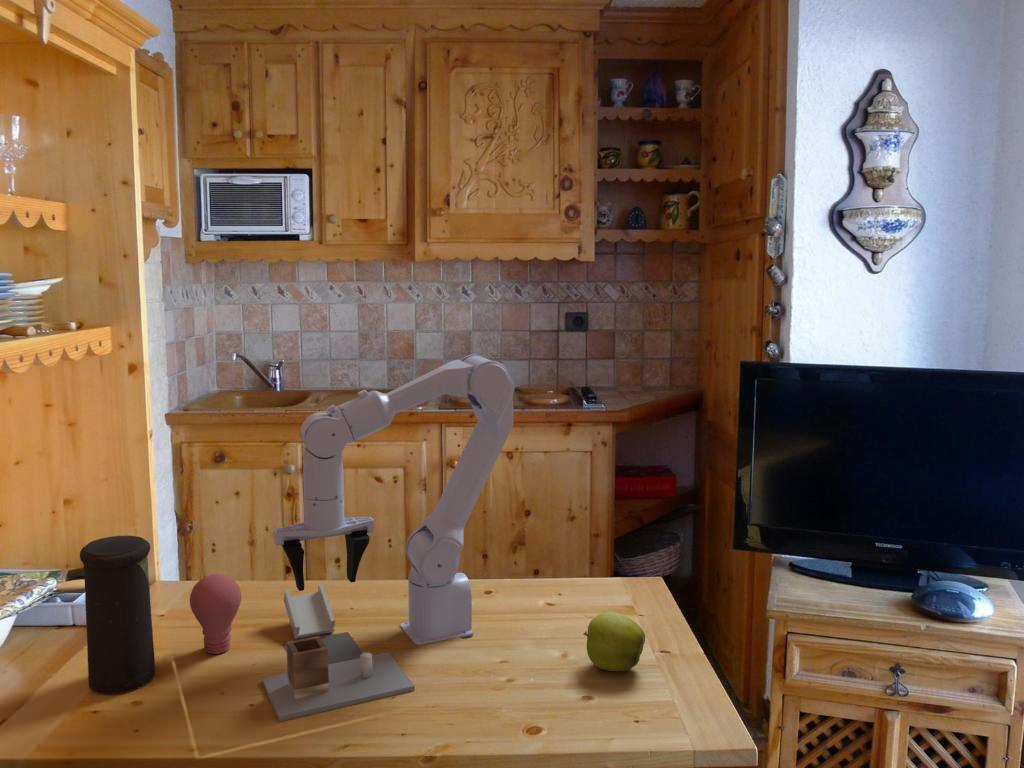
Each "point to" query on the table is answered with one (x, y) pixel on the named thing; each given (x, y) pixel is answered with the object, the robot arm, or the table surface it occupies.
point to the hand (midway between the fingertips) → (326, 584)
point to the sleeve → (307, 667)
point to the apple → (614, 641)
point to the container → (118, 614)
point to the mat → (340, 647)
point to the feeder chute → (309, 613)
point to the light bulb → (215, 609)
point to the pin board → (341, 686)
